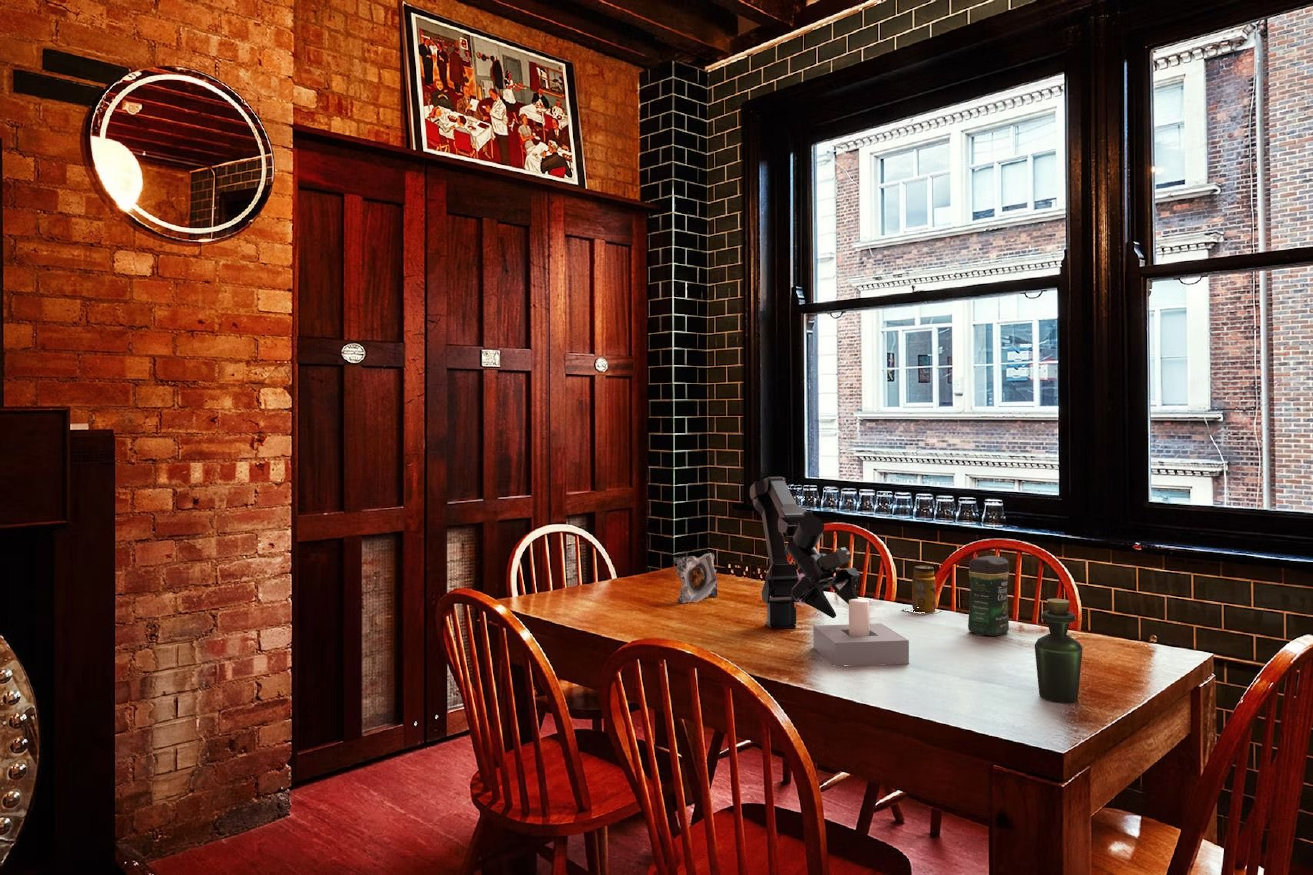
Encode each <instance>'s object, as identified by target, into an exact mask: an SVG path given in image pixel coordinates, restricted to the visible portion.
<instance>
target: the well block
mask: <svg viewBox="0 0 1313 875" xmlns="http://www.w3.org/2000/svg"><path fill="white" fill-rule="evenodd" d="M812 631H813V634H812V635H813V637H812V640H813V646H812V647H813V649H814V650H815V651H816V652H817V653H819V654H820V655H821V656H823V657H824V658H825V659H826V660H827V661H828V662H830V664H831V665H833V666H834V665H835V666H840V667H845V666H844V665H865V666H882V665H881V664H891V665H909V664H910V640H909V639H907V638H906V637H905V636H903V635H901V634H899V633H898V632H896V631H895V630H893V629H891V628H890V627H888V626H887V625H885V624H883V623H881V622H879V623H870V636H854V637H850V636H849V623H847V624H829V625H828V624H827V625H825V624H823V625H821V624H820V625H813V630H812ZM835 666H834V667H835Z"/></svg>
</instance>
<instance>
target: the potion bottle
mask: <svg viewBox="0 0 1313 875" xmlns="http://www.w3.org/2000/svg"><path fill="white" fill-rule="evenodd" d="M1046 601H1047V606H1048V610H1044V611H1042V614H1041V617H1040V618H1041V619H1042V620H1044V621H1045V622H1046V623H1047V626H1048V630H1049V633H1047V634H1045V635H1044V636H1040V638H1039V637H1038V638H1037V640H1036V642H1035V644H1034V652H1035V664H1036V665H1035V666H1036V673H1037V674H1036V676H1037V685H1038V695H1039V696H1040V697H1041V698H1042V699H1043V700H1045V701H1048V702H1052V703H1058V704H1072V703H1075V702H1077V701H1078V700H1079V691H1080V690H1079V689H1080V683H1081V682H1080V680H1081V669H1082V660H1083V649H1084V648H1083V646H1082V644H1081V642H1079V641H1078V640H1076V639H1074V638H1073V637H1071V636H1070V635H1068V631H1069V628H1070V624H1071V623H1074V622H1076V621H1077V619H1076V617H1075V613H1073V612H1070V611H1069V608H1070V607H1069V606H1070V600H1068V599H1063V598H1047V600H1046Z"/></svg>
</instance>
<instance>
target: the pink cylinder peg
mask: <svg viewBox="0 0 1313 875" xmlns="http://www.w3.org/2000/svg"><path fill="white" fill-rule="evenodd" d="M848 624H849V636H850V637H854V636H870V624H871V623H870V600H868V599H864V598H858V599H851V600H849V605H848Z"/></svg>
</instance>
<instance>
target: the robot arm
mask: <svg viewBox="0 0 1313 875" xmlns="http://www.w3.org/2000/svg"><path fill="white" fill-rule="evenodd" d="M749 497H750V500H752V503H753V508H754V509H755V510H756V511H757V512H758V513H759V515H761V519H762V524H763V525H762V526H763V530H764V531H763V532H764V538H765V544H766V549H767V555H768V561H769V568H768V571H767V572H766V576H765V580H764V584H763V587H762V589H761V600H762V602H764V603H766V606H767V607H766V611H767V612H766V615H767V616H766V617H767V618H766V619H767V620H766V621H765V624H766V626H768V627H769V628H770V629H772V630H773V629H796V628H797V625H796V624H797V607H795V603H796V602H799V600H801V602H802V603H804V604H806V605H808V606H810V607H812V608H814V609H816V610H818V611H819V612H820V613H823V614H824V615H826V616H828V617H829V618H831V619H835V618H836V617H837V614H836V611H835V610H834V608H833V606H832V605H831V602H830V601H829V599H828V598H827V596H826V595H825V593H824V589H825V588H828V587H831V588H832V589H833V591H836V595H837V596H838V597H839V598H840V599H842V600H843V601H844V602H845V604H847V605H848V606H849V600H851V599H859V597H858V594H857V593H858V592H857V590H856V584H857V581H858V579H859V577H860V575H861V574H860V573H859V571H858V570H857V568H855V567H845V568H841V569H839V568H840V567H842V566H845V565H849V564H850V563H851V559H852V553H851V552H850V551H849V550H848V549H847V548H846V547H845V546H844V547H840V548H837V549H835V551H833V552H830V553H827V554H826V553H820V552H819V551H818V550H817V548H816V546H818V543H819V541H820V539H821V537H822V536H823V532H824V531H825V523H824V522H823V521H822V519H820V518H819V517H818V516H815V515H814V514H813V511H807V510H806V509H805V508H803V507H801V506H799V505H798V504H797V503H796V501H795V499H794V497H793V496H792V494H791V491H790V489H789V487H788V485H787V479H786V477H783V476H768V477H765V478H764V479H761V480H759V481H754V483H752V485H751V486H750V487H749ZM785 538H790V539H789V540H788V542H786V543H785ZM788 556H790V557H791V558H792V560H793V561H794V562H795V564H794V563H791V562H790V561H789V560H788ZM797 567H798V568H797ZM797 570H798V571H797ZM839 570H840V571H839ZM797 572H798V573H799V575H800V574H804V577H802V578H801V579H799V578H798V575H797ZM836 573H837V574H836ZM835 574H836V575H835Z"/></svg>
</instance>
